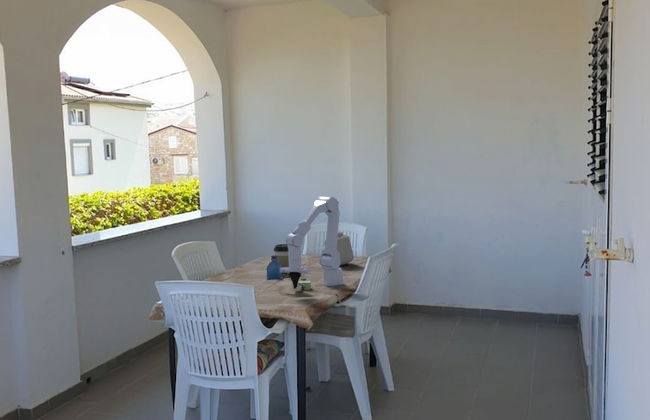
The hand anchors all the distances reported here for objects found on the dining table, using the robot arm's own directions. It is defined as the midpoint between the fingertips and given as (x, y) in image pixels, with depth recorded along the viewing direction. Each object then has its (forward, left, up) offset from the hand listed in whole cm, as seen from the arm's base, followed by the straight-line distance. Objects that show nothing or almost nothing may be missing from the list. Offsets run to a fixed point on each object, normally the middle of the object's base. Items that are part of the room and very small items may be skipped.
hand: (295, 288), depth 283 cm
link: (-4, -4, -1) cm, 6 cm away
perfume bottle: (0, -37, -3) cm, 37 cm away
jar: (-43, -57, -3) cm, 71 cm away
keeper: (-5, -2, -1) cm, 6 cm away
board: (-1, -3, -2) cm, 4 cm away
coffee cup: (-9, -50, -3) cm, 51 cm away
